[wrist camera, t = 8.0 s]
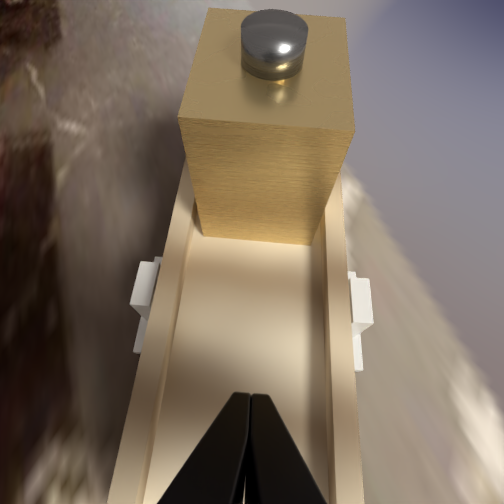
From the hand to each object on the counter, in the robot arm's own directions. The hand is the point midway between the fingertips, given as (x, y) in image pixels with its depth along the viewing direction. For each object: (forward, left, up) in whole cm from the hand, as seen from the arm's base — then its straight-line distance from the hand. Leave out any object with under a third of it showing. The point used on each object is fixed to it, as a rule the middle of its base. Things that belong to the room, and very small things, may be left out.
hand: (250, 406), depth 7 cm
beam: (+5, -1, -9) cm, 10 cm away
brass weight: (+12, -3, -7) cm, 14 cm away
